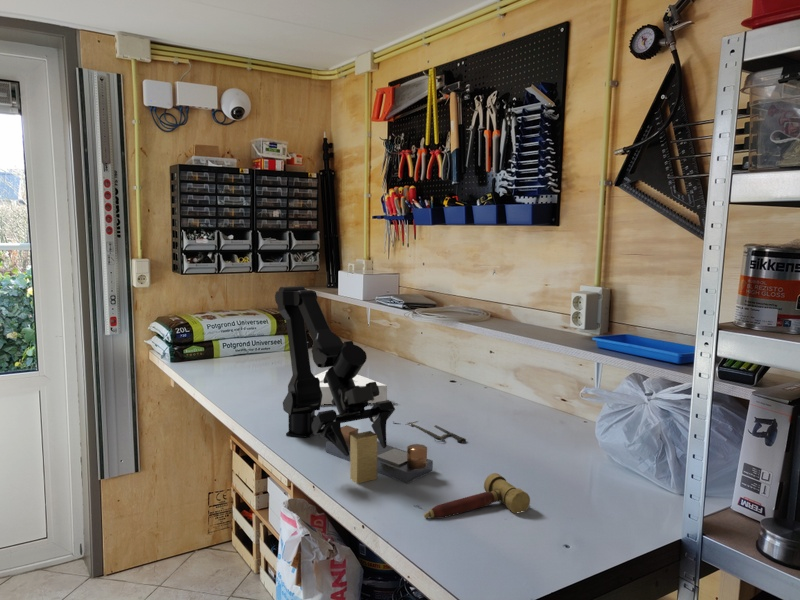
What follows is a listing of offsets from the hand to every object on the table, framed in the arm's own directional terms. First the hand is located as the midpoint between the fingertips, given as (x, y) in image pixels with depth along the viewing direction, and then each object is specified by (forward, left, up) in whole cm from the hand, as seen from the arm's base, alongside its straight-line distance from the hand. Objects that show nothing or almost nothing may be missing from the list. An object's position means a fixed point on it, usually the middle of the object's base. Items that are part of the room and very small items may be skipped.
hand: (366, 451), depth 130 cm
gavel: (+24, -7, -7) cm, 26 cm away
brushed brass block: (-1, +1, -7) cm, 7 cm away
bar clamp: (+8, +34, -7) cm, 36 cm away
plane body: (0, +11, -7) cm, 13 cm away
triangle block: (-21, +58, -7) cm, 63 cm away
